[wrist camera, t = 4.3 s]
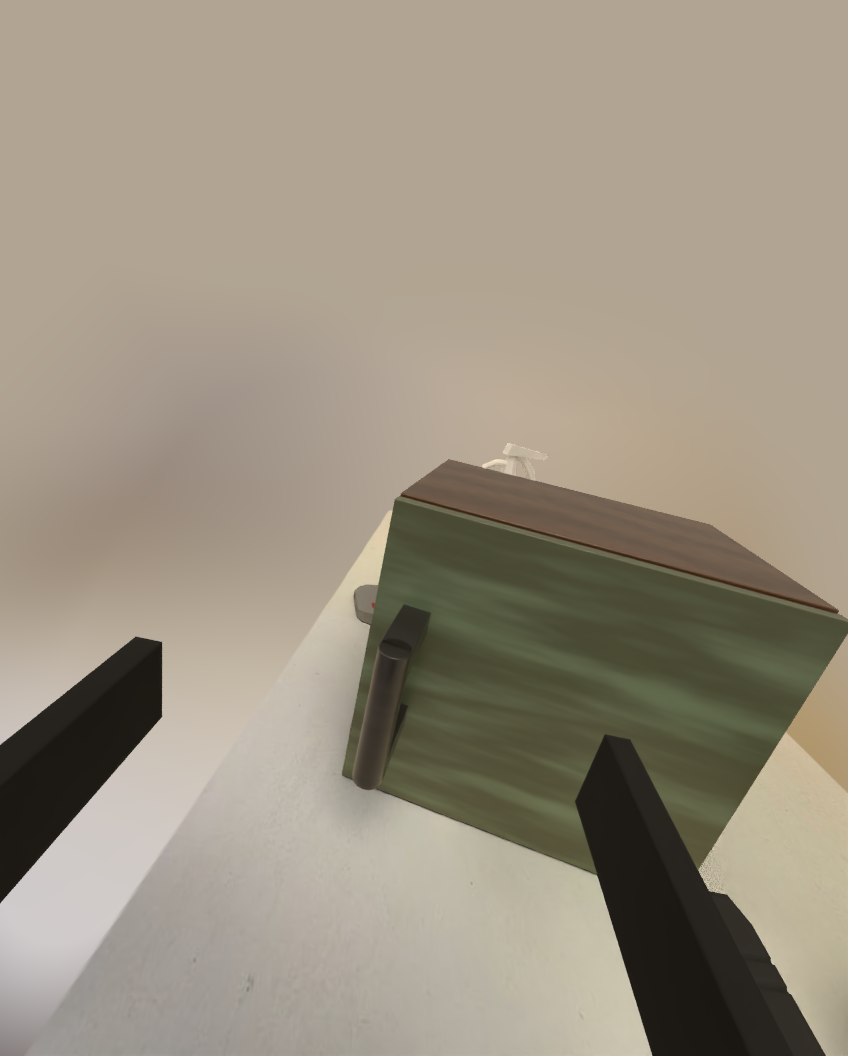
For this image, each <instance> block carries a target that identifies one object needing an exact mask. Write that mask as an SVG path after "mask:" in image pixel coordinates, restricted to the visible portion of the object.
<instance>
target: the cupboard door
mask: <svg viewBox="0 0 848 1056" xmlns="http://www.w3.org/2000/svg"><path fill="white" fill-rule="evenodd" d="M847 634H848V619H846V618H845V617H843V616H842V615H839V614H835V613H832V612H828V611H824V610H820V609H817V608H813V607H809V606H806V605H802V604H798V603H795V602H791V601H787V600H783V599H780V598H776V597H772V596H769V595H765V594H761V593H757V592H754V591H750V590H746V589H743V588H739V587H735V586H731V585H728V584H724V583H720V582H717V581H713V580H709V579H705V578H702V577H698V576H694V575H691V574H687V573H683V572H679V571H676V570H672V569H668V568H665V567H661V566H657V565H653V564H650V563H646V562H642V561H639V560H635V559H631V558H628V557H624V556H620V555H616V554H613V553H609V552H605V551H602V550H598V549H594V548H590V547H587V546H583V545H579V544H576V543H572V542H568V541H564V540H561V539H557V538H553V537H550V536H546V535H542V534H538V533H535V532H531V531H527V530H524V529H520V528H516V527H512V526H509V525H505V524H501V523H498V522H494V521H490V520H486V519H483V518H479V517H475V516H472V515H468V514H464V513H461V512H457V511H453V510H449V509H446V508H442V507H438V506H435V505H431V504H427V503H423V502H420V501H416V500H412V499H409V498H405V497H401V496H399V497H398V498H396V499H395V502H394V507H393V512H392V517H391V522H390V528H389V533H388V538H387V543H386V548H385V554H384V559H383V564H382V569H381V574H380V580H379V585H378V590H377V595H376V600H375V606H374V611H373V616H372V621H371V626H370V632H369V637H368V642H367V647H366V652H365V658H364V663H363V668H362V673H361V678H360V684H359V689H358V694H357V699H356V704H355V710H354V715H353V720H352V725H351V730H350V735H349V741H348V746H347V751H346V756H345V761H344V767H343V772H342V775H343V776H346V777H348V778H351V779H353V780H354V782H355V784H356V785H357V786H358V787H360V788H362V789H365V790H372V789H375V788H376V789H379V790H382V791H384V792H387V793H389V794H392V795H394V796H397V797H400V798H402V799H405V800H407V801H410V802H413V803H415V804H418V805H420V806H423V807H425V808H428V809H431V810H433V811H436V812H438V813H441V814H443V815H446V816H449V817H451V818H454V819H456V820H459V821H461V822H464V823H467V824H469V825H472V826H474V827H477V828H479V829H482V830H485V831H487V832H490V833H492V834H495V835H497V836H500V837H503V838H505V839H508V840H510V841H513V842H515V843H518V844H521V845H523V846H526V847H528V848H531V849H533V850H536V851H539V852H541V853H544V854H546V855H549V856H551V857H554V858H557V859H559V860H562V861H564V862H567V863H570V864H572V865H575V866H577V867H580V868H582V869H585V870H588V871H590V872H593V873H595V874H597V872H596V869H595V866H594V862H593V859H592V856H591V853H590V849H589V846H588V843H587V840H586V836H585V833H584V830H583V826H582V823H581V820H580V817H579V813H578V810H577V807H576V804H575V800H576V798H577V796H578V793H579V791H580V789H581V787H582V784H583V782H584V780H585V778H586V775H587V773H588V771H589V769H590V766H591V764H592V762H593V760H594V757H595V755H596V753H597V751H598V748H599V746H600V744H601V742H602V739H603V737H604V735H605V734H607V735H611V736H616V737H621V738H626V739H630V740H631V742H632V744H633V746H634V748H635V750H636V751H637V753H638V755H639V757H640V759H641V761H642V763H643V765H644V767H645V769H646V771H647V773H648V775H649V777H650V779H651V780H652V782H653V784H654V786H655V788H656V790H657V792H658V794H659V796H660V798H661V800H662V802H663V804H664V806H665V808H666V810H667V811H668V813H669V815H670V817H671V819H672V821H673V823H674V825H675V827H676V829H677V831H678V833H679V835H680V837H681V839H682V840H683V842H684V844H685V846H686V848H687V850H688V852H689V854H690V856H691V858H692V860H693V862H694V864H695V866H696V868H697V870H698V869H699V868H700V866H701V865H702V863H703V861H704V860H705V858H706V857H707V855H708V854H709V852H710V850H711V849H712V847H713V846H714V844H715V843H716V841H717V839H718V838H719V836H720V835H721V833H722V831H723V830H724V828H725V827H726V825H727V824H728V822H729V820H730V819H731V817H732V816H733V814H734V812H735V811H736V809H737V808H738V806H739V805H740V803H741V801H742V800H743V798H744V797H745V795H746V794H747V792H748V790H749V789H750V787H751V786H752V784H753V782H754V781H755V779H756V778H757V776H758V775H759V773H760V771H761V770H762V768H763V767H764V765H765V764H766V762H767V760H768V759H769V757H770V756H771V754H772V752H773V751H774V749H775V748H776V746H777V745H778V743H779V741H780V740H781V738H782V737H783V735H784V734H785V732H786V730H787V729H788V727H789V726H790V724H791V722H792V721H793V719H794V718H795V716H796V715H797V713H798V711H799V710H800V708H801V707H802V705H803V704H804V702H805V700H806V699H807V697H808V696H809V694H810V692H811V691H812V689H813V688H814V686H815V685H816V683H817V681H818V680H819V678H820V677H821V675H822V674H823V672H824V670H825V669H826V667H827V666H828V664H829V662H830V661H831V659H832V658H833V656H834V655H835V653H836V651H837V650H838V648H839V647H840V645H841V643H842V642H843V640H844V639H845V637H846V636H847Z"/></svg>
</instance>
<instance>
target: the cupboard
mask: <svg viewBox="0 0 848 1056" xmlns="http://www.w3.org/2000/svg"><path fill="white" fill-rule="evenodd" d="M401 497H405V498H409V499H412V500H416V501H420V502H423V503H427V504H431V505H435V506H438V507H442V508H446V509H449V510H453V511H457V512H461V513H464V514H468V515H472V516H475V517H479V518H483V519H486V520H490V521H494V522H498V523H501V524H505V525H509V526H512V527H516V528H520V529H524V530H527V531H531V532H535V533H538V534H542V535H546V536H550V537H553V538H557V539H561V540H564V541H568V542H572V543H576V544H579V545H583V546H587V547H590V548H594V549H598V550H602V551H605V552H609V553H613V554H616V555H620V556H624V557H628V558H631V559H635V560H639V561H642V562H646V563H650V564H653V565H657V566H661V567H665V568H668V569H672V570H676V571H679V572H683V573H687V574H691V575H694V576H698V577H702V578H705V579H709V580H713V581H717V582H720V583H724V584H728V585H731V586H735V587H739V588H743V589H746V590H750V591H754V592H757V593H761V594H765V595H769V596H772V597H776V598H780V599H783V600H787V601H791V602H795V603H798V604H802V605H806V606H809V607H813V608H817V609H820V610H824V611H828V612H832V613H835V614H837V613H838V612H839V611H838V610H837V609H836V608H835V607H833V606H832V605H830V604H828V603H827V602H826V601H824V600H823V599H821V598H819V597H818V596H816V595H815V594H813V593H812V592H811V591H809V590H807V589H806V588H804V587H803V586H802V585H800V584H798V583H797V582H796V581H794V580H792V579H791V578H790V577H788V576H786V575H785V574H784V573H782V572H781V571H779V570H778V569H776V568H774V567H773V566H771V565H770V564H769V563H767V562H765V561H764V560H763V559H761V558H760V557H758V556H756V555H755V554H754V553H752V552H750V551H749V550H748V549H746V548H745V547H743V546H742V545H740V544H738V543H737V542H736V541H734V540H733V539H731V538H729V537H728V536H727V535H725V534H724V533H722V532H721V531H719V530H718V529H716V528H714V527H713V526H711V525H710V524H706V523H702V522H698V521H694V520H690V519H686V518H682V517H678V516H673V515H670V514H665V513H662V512H657V511H653V510H649V509H645V508H642V507H637V506H634V505H630V504H626V503H621V502H618V501H614V500H610V499H606V498H601V497H598V496H594V495H589V494H586V493H581V492H578V491H574V490H570V489H566V488H562V487H557V486H553V485H549V484H546V483H542V482H538V481H534V480H530V479H525V478H521V477H517V476H514V475H510V474H506V473H502V472H497V471H493V470H490V469H486V468H482V467H478V466H473V465H470V464H465V463H462V462H458V461H453V460H450V459H449V460H447V461H446V462H445V463H443V464H441V465H440V466H439V467H437V468H436V469H435V470H433V471H432V472H430V473H429V474H427V475H426V476H425V477H423V478H422V479H421V480H419V481H418V482H416V483H415V484H413V485H412V486H411V487H409V488H408V489H407V490H405V491H404V492H402V493H401Z"/></svg>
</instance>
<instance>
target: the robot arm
mask: <svg viewBox="0 0 848 1056" xmlns="http://www.w3.org/2000/svg"><path fill="white" fill-rule="evenodd" d="M161 717H162V642H159V641H154V640H149V639H144V638H139V637H135V638H134V639H132V640H131V641H130V642H129V643H127V644H126V645H125V646H124V647H122V648H121V649H120V650H119V651H117V652H116V653H115V654H114V655H112V656H111V657H110V658H109V659H107V660H106V661H105V662H104V663H102V664H101V665H100V666H99V667H97V668H96V669H95V670H94V671H92V672H91V673H90V674H88V675H87V676H86V677H85V678H83V679H82V680H81V681H80V682H79V683H77V684H76V685H75V686H73V687H72V688H71V689H70V690H69V691H67V692H66V693H65V694H63V696H61V697H60V698H59V699H57V700H56V701H55V702H54V703H52V704H51V705H50V706H48V707H47V708H46V709H45V710H43V711H42V712H41V713H40V714H38V715H37V716H36V717H35V718H34V719H32V720H31V721H30V722H29V723H27V724H26V725H25V726H23V727H22V728H21V729H20V730H19V731H17V732H16V733H15V734H13V735H12V736H11V737H10V738H8V739H7V740H6V741H5V742H3V743H2V744H1V745H0V903H1V902H2V901H3V899H4V898H5V897H6V896H7V895H8V894H9V892H10V891H11V890H12V889H13V888H14V887H15V886H16V884H17V883H18V882H19V881H20V880H21V879H22V877H23V876H24V875H25V874H26V873H27V872H28V871H29V869H30V868H31V867H32V866H33V865H34V864H35V863H36V861H37V860H38V859H39V858H40V857H41V856H42V854H43V853H44V852H45V851H46V850H47V849H48V848H49V846H50V845H51V844H52V843H53V842H54V840H56V838H57V837H58V836H59V835H60V833H62V831H63V830H64V829H65V828H66V827H67V826H68V824H69V823H70V822H71V821H72V820H73V818H75V816H76V815H77V814H78V813H79V812H80V810H81V809H82V808H83V807H84V806H85V805H86V804H87V803H88V801H89V800H90V799H91V798H92V797H93V796H94V794H95V793H96V792H97V791H98V790H99V789H100V788H101V786H102V785H103V784H104V783H105V782H106V781H107V780H108V778H109V777H110V776H111V775H112V774H113V773H114V771H115V770H116V769H117V768H118V767H119V765H121V763H122V762H123V761H124V760H125V759H126V758H127V756H128V755H129V754H130V753H131V752H132V751H133V750H134V748H135V747H136V746H137V745H138V744H139V743H140V741H141V740H142V739H143V738H144V737H145V735H147V733H148V732H149V731H150V730H151V729H152V728H153V726H154V725H155V724H156V723H157V722H158V721H159V720H160V718H161ZM575 804H576V807H577V810H578V813H579V817H580V820H581V823H582V826H583V830H584V833H585V836H586V840H587V843H588V846H589V849H590V853H591V856H592V859H593V862H594V866H595V869H596V872H597V876H598V879H599V882H600V885H601V889H602V892H603V895H604V898H605V902H606V905H607V908H608V911H609V915H610V918H611V921H612V925H613V928H614V931H615V934H616V938H617V941H618V944H619V947H620V951H621V954H622V957H623V961H624V964H625V967H626V970H627V974H628V977H629V980H630V983H631V987H632V990H633V993H634V997H635V1000H636V1003H637V1006H638V1010H639V1013H640V1016H641V1019H642V1023H643V1026H644V1029H645V1033H646V1036H647V1039H648V1042H649V1046H650V1049H651V1052H652V1055H653V1056H826V1055H825V1053H824V1052H823V1050H822V1048H821V1046H820V1045H819V1043H818V1041H817V1039H816V1038H815V1036H814V1034H813V1032H812V1030H811V1029H810V1027H809V1025H808V1023H807V1022H806V1020H805V1018H804V1016H803V1014H802V1013H801V1011H800V1009H799V1007H798V1006H797V1004H796V1002H795V1000H794V999H793V997H792V995H791V994H789V993H788V992H787V986H786V984H785V983H784V981H783V979H782V977H781V976H780V974H779V972H778V970H777V968H776V967H775V965H772V963H771V960H770V959H771V958H770V956H769V954H768V953H767V951H766V949H765V947H764V945H763V944H762V942H761V940H760V938H759V937H758V935H757V933H756V931H755V929H754V928H753V926H752V924H751V923H750V922H749V921H748V920H747V918H746V917H745V916H744V915H743V914H742V912H741V911H740V910H739V909H738V908H737V906H736V905H735V904H734V903H733V901H732V900H731V899H730V898H729V897H728V895H725V894H720V893H715V892H710V891H708V889H707V887H706V885H705V883H704V881H703V879H702V877H701V875H700V873H699V871H698V870H697V868H696V866H695V864H694V862H693V860H692V858H691V856H690V854H689V852H688V850H687V848H686V846H685V844H684V842H683V840H682V839H681V837H680V835H679V833H678V831H677V829H676V827H675V825H674V823H673V821H672V819H671V817H670V815H669V813H668V811H667V810H666V808H665V806H664V804H663V802H662V800H661V798H660V796H659V794H658V792H657V790H656V788H655V786H654V784H653V782H652V780H651V779H650V777H649V775H648V773H647V771H646V769H645V767H644V765H643V763H642V761H641V759H640V757H639V755H638V753H637V751H636V750H635V748H634V746H633V744H632V742H631V740H630V739H626V738H621V737H616V736H611V735H607V734H605V735H604V737H603V739H602V742H601V744H600V746H599V748H598V751H597V753H596V755H595V757H594V760H593V762H592V764H591V766H590V769H589V771H588V773H587V775H586V778H585V780H584V782H583V784H582V787H581V789H580V791H579V793H578V796H577V798H576V800H575Z"/></svg>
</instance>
